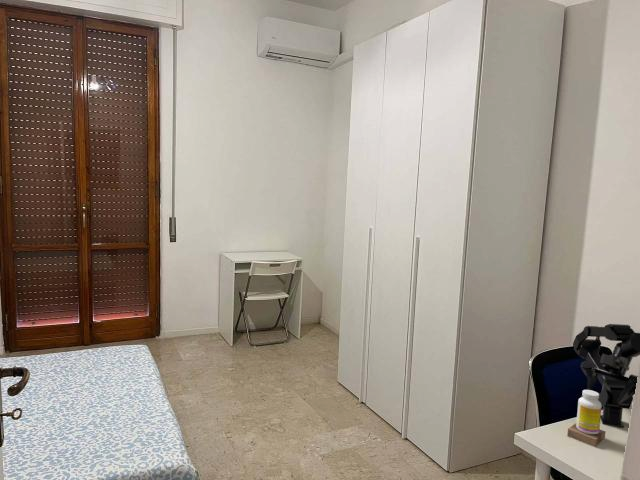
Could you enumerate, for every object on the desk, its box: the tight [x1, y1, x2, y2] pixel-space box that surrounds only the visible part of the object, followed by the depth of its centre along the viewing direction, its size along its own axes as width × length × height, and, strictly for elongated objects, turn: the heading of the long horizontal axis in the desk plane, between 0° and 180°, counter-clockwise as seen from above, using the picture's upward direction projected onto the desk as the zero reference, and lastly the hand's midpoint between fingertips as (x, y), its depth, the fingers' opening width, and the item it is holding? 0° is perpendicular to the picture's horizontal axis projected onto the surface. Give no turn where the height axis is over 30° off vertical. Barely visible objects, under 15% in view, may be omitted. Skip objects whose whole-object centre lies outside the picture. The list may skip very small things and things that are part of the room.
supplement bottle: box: [575, 389, 603, 434], centre depth 152 cm, size 7×7×13 cm
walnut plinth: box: [566, 422, 607, 448], centre depth 152 cm, size 8×8×2 cm
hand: (602, 397), depth 151 cm, fingers open, 9 cm apart
